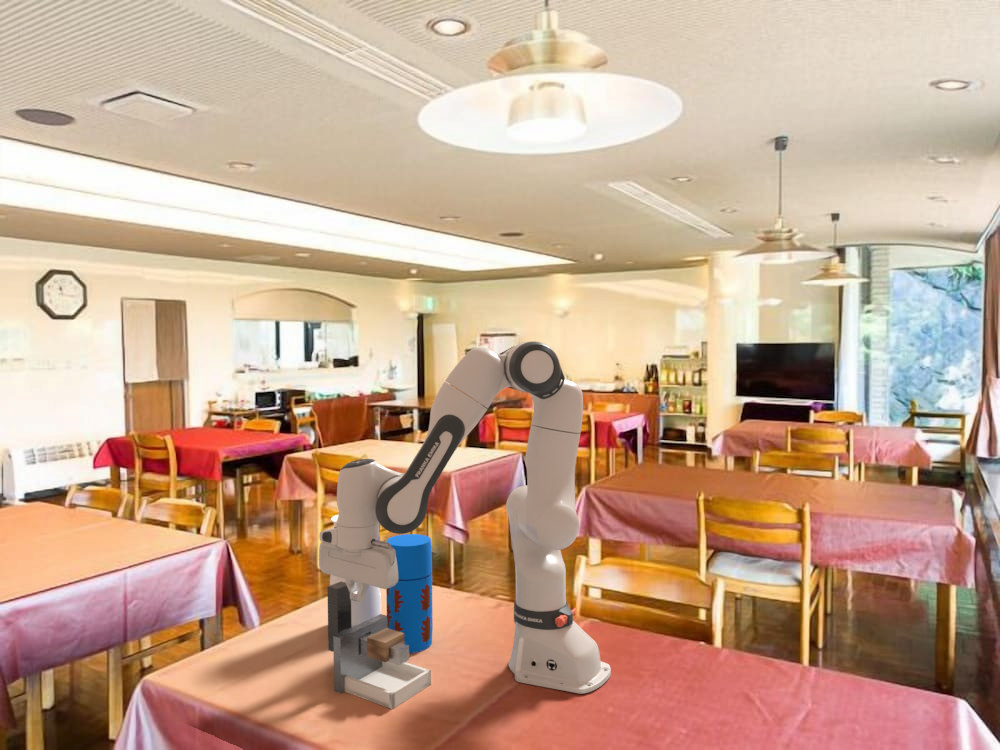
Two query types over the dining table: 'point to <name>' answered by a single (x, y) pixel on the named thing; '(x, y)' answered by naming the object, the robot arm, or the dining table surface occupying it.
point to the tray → (390, 684)
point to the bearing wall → (355, 652)
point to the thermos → (412, 591)
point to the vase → (367, 607)
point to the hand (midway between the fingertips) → (357, 600)
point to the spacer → (383, 643)
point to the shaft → (342, 621)
